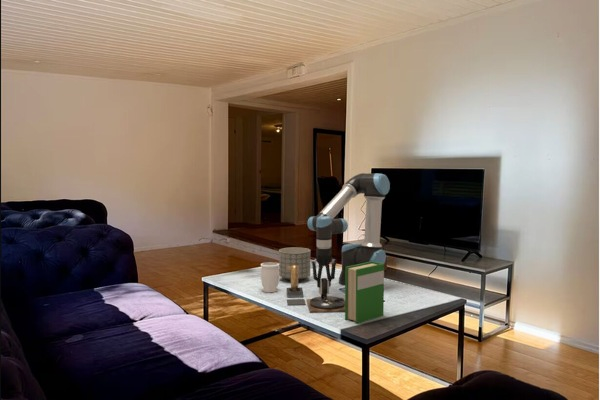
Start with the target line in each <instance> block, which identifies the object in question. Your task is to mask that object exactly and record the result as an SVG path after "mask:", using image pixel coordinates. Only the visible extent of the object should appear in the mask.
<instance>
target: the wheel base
mask: <svg viewBox="0 0 600 400" xmlns="http://www.w3.org/2000/svg"><path fill="white" fill-rule="evenodd" d="M340 298H341V299H343V300H344V301H345V297H340ZM311 299H312V298H306V303H307V307H308V310H309V313H310V314H313V313H314V314H315V313H316V314H318V313H319V314H320V313H345V305H344V306H343V307H340V308H336V309H321V308H316V307H313V306H311V305H310V300H311Z"/></svg>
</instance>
